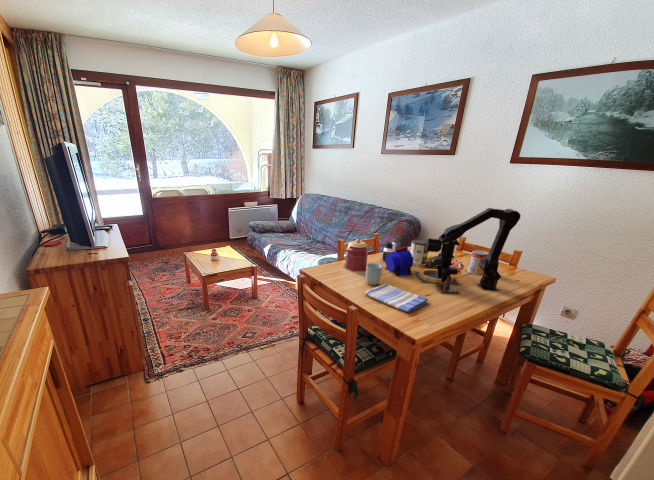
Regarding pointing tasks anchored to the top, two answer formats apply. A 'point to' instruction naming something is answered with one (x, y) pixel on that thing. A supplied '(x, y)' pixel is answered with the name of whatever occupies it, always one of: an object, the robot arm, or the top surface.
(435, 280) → the hoop
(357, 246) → the kitchen canister
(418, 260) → the coffee can
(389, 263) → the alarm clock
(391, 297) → the dish towel
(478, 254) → the canned food
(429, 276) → the felt mat
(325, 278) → the top surface
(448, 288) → the peg stand
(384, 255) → the medicine bottle
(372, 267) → the cup
